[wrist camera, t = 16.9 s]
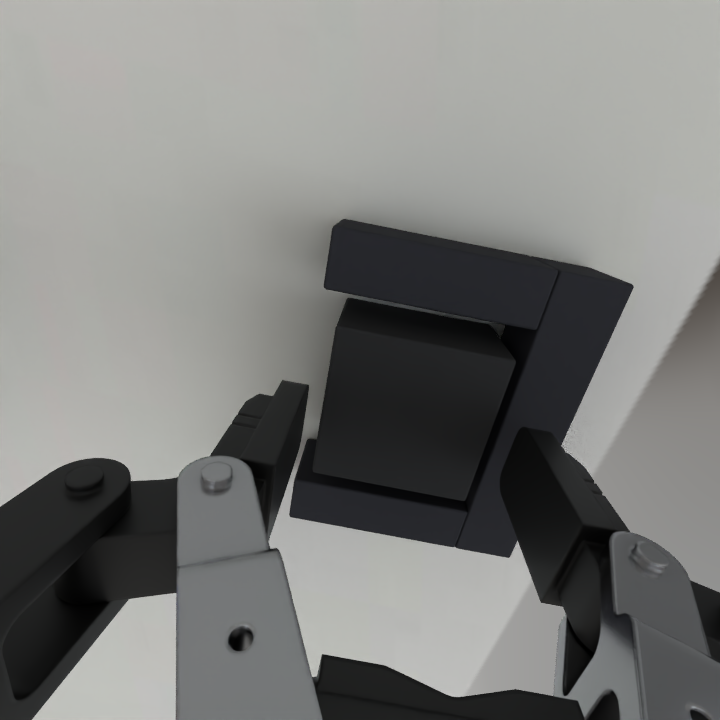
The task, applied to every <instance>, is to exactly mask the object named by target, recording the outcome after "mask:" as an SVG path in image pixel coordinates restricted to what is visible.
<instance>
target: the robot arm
mask: <svg viewBox="0 0 720 720" xmlns="http://www.w3.org/2000/svg"><path fill="white" fill-rule="evenodd" d="M308 391H309V385H306V384H301V383H295V382H290V381H285V380H282V381H281V383H280V385H279V387H278V389H277V390H276V392H275V394H274V396H269V395H264V394H258V395H256V396H255V397H253V398H251V399H249V400H248V401H246V402H245V403H244V405H243V406H242V408H241V409H240V411H239V412H238V415H236V417H235V419H234V420H233V422H232V424H231V425H230V426H229V428H228V429H227V431H226V432H225V434H224V435H223V437H222V438H221V440H220V441H219V443H218V444H217V446H216V447H215V449H214V450H213V452H212V453H211V455H210V456H209V457H204V458H201V459H198V460H196V461H194V462H192V463H190V464H189V465H187V466H186V467H185V468H184V469H183V470H182V471H181V473H180V474H179V477H177V478H172V479H165V480H147V481H131V476H130V472H129V470H128V468H127V467H126V466H125V465H124V464H122V463H120V462H118V461H115V460H111V459H105V458H92V459H84V460H79V461H75V462H72V463H69V464H66V465H64V466H62V467H60V468H57V469H56V470H54V471H52V472H51V473H49V474H48V475H46V476H45V477H43V478H42V479H41V480H39V481H38V482H36V483H35V484H33V485H32V486H30V487H29V488H27V489H26V490H24V491H23V492H21V493H20V494H19V495H17V496H16V497H14V498H13V499H11V500H10V501H8V502H7V503H5V504H4V505H2V506H1V507H0V720H32V719H33V717H34V716H35V715H36V714H37V712H38V711H39V710H40V709H41V707H42V706H43V705H44V704H45V702H46V701H47V700H48V699H49V698H50V696H51V695H52V694H53V693H54V691H55V690H56V689H57V688H58V686H59V685H60V684H61V683H62V681H63V680H64V679H65V678H66V676H67V675H68V674H69V673H70V671H71V670H72V669H73V668H74V667H75V665H76V664H77V663H78V662H79V660H80V659H81V658H82V657H83V655H84V654H85V653H86V652H87V650H88V649H89V648H90V647H91V645H92V644H93V643H94V642H95V640H96V639H97V638H98V637H99V635H100V634H101V633H102V632H103V631H104V629H105V628H106V627H107V626H108V624H109V623H110V622H111V621H112V619H113V618H114V617H115V616H116V614H117V613H118V612H119V611H120V609H121V608H122V607H123V606H124V604H125V603H126V602H127V601H128V599H131V598H139V597H146V596H154V595H162V594H169V593H177V597H176V720H720V593H719V592H717V591H714V590H712V589H710V588H707V587H705V586H702V585H700V584H698V583H695V582H693V581H690V579H689V577H688V574H687V572H686V571H685V569H684V568H683V566H682V565H681V564H680V563H679V562H678V560H676V558H675V557H673V556H672V555H671V554H670V553H669V552H668V551H666V550H665V549H664V548H662V547H661V546H659V545H658V544H656V543H655V542H653V541H651V540H649V539H647V538H645V537H643V536H640V535H638V534H634V533H631V532H630V531H629V530H628V528H627V527H626V525H625V524H624V523H623V521H622V520H621V518H620V517H619V515H618V514H617V513H616V512H615V510H614V509H613V507H612V506H611V504H610V503H609V501H608V500H607V499H606V497H605V496H603V495H602V491H601V490H600V489H599V487H598V486H597V484H594V480H593V479H592V477H591V476H590V474H589V473H588V472H587V470H586V469H585V467H584V466H583V465H581V464H580V463H579V462H578V461H577V460H575V459H574V458H573V457H572V456H571V455H570V454H568V453H566V452H565V451H564V449H563V448H562V446H561V445H560V443H559V442H558V440H557V439H556V438H555V436H554V435H553V433H551V432H548V431H543V430H537V429H532V428H527V427H522V428H520V429H519V431H518V432H517V434H516V437H515V439H514V442H513V444H512V447H511V449H510V452H509V454H508V457H507V459H506V462H505V464H504V467H503V469H502V472H501V476H500V493H501V496H502V499H503V502H504V504H505V507H506V510H507V512H508V515H509V518H510V521H511V523H512V526H513V529H514V531H515V534H516V537H517V539H518V542H519V545H520V548H521V550H522V553H523V556H524V558H525V561H526V564H527V566H528V569H529V572H530V574H531V577H532V580H533V583H534V585H535V588H536V590H537V593H538V596H539V599H540V601H541V603H546V604H552V605H557V606H562V607H564V610H565V612H566V614H565V616H564V617H563V619H562V621H561V623H560V625H559V629H558V642H557V654H556V667H555V679H554V692H553V696H549V695H544V694H539V693H533V692H527V691H522V690H516V689H515V690H507V691H501V692H494V693H486V694H480V695H472V696H465V697H451V696H448V695H446V694H444V693H442V692H440V691H437V690H435V689H433V688H431V687H429V686H427V685H425V684H423V683H421V682H419V681H416V680H414V679H412V678H410V677H408V676H406V675H404V674H402V673H400V672H398V671H396V670H393V669H391V668H389V667H387V666H384V665H379V664H373V663H368V662H362V661H357V660H351V659H346V658H340V657H335V656H329V655H324V654H322V657H321V662H320V666H319V670H318V674H317V677H312V675H311V671H310V667H309V663H308V659H307V655H306V651H305V647H304V643H303V639H302V635H301V631H300V627H299V623H298V619H297V615H296V611H295V607H294V603H293V599H292V595H291V591H290V587H289V583H288V579H287V575H286V571H285V567H284V563H283V560H282V556H281V554H280V552H279V550H278V549H277V548H274V549H270V546H269V543H268V541H269V538H270V535H271V532H272V529H273V526H274V523H275V520H276V517H277V514H278V511H279V508H280V505H281V502H282V499H283V496H284V493H285V490H286V487H287V484H288V481H289V478H290V475H291V472H292V469H293V466H294V463H295V460H296V457H297V454H298V450H299V446H300V442H301V437H302V431H303V425H304V418H305V411H306V405H307V398H308Z"/></svg>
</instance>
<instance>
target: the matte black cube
mask: <svg viewBox="0 0 720 720" xmlns="http://www.w3.org/2000/svg"><path fill="white" fill-rule="evenodd" d="M515 364H516V360H515V359H514V357H513V356H512V355H511V353H510V352H509V351H508V349H507V348H506V346H505V345H504V344H503V342H502V341H501V340H500V338H499V337H498V336H497V334H496V333H495V331H494V330H493V329H492V327H491V326H490V325H487V324H482V323H477V322H472V321H467V320H461V319H456V318H451V317H446V316H441V315H436V314H430V313H425V312H420V311H415V310H410V309H405V308H399V307H394V306H389V305H384V304H379V303H374V302H368V301H363V300H358V299H353V298H348V299H347V300H346V303H345V305H344V308H343V310H342V313H341V315H340V318H339V321H338V323H337V326H336V329H335V335H334V341H333V347H332V353H331V359H330V365H329V371H328V377H327V383H326V389H325V395H324V401H323V407H322V413H321V419H320V425H319V431H318V437H317V443H316V449H315V455H314V461H313V467H312V470H313V472H315V473H320V474H325V475H330V476H336V477H341V478H346V479H351V480H356V481H362V482H367V483H372V484H377V485H382V486H388V487H393V488H398V489H403V490H408V491H414V492H419V493H424V494H429V495H434V496H440V497H445V498H450V499H455V500H460V501H465V500H466V498H467V495H468V492H469V490H470V487H471V484H472V481H473V479H474V476H475V473H476V470H477V468H478V465H479V462H480V460H481V457H482V454H483V451H484V449H485V446H486V443H487V440H488V438H489V435H490V432H491V430H492V427H493V424H494V421H495V419H496V416H497V413H498V411H499V408H500V405H501V402H502V400H503V397H504V394H505V391H506V389H507V386H508V383H509V381H510V378H511V375H512V372H513V370H514V367H515Z"/></svg>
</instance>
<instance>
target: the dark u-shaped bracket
mask: <svg viewBox="0 0 720 720" xmlns="http://www.w3.org/2000/svg"><path fill="white" fill-rule="evenodd" d="M633 287H634V286H633V285H632V284H630V283H627V282H625V281H622V280H620V279H617V278H614V277H612V276H609V275H607V274H604V273H602V272H599V271H597V270H594V269H592V268H588V267H583V266H578V265H573V264H568V263H563V262H558V261H553V260H548V259H543V258H538V257H533V256H532V257H530V256H528V255H523V254H518V253H513V252H508V251H503V250H498V249H492V248H487V247H482V246H477V245H472V244H467V243H462V242H457V241H452V240H447V239H442V238H437V237H432V236H427V235H422V234H417V233H412V232H407V231H402V230H397V229H392V228H387V227H382V226H377V225H372V224H367V223H362V222H357V221H352V220H347V219H343V220H341V221H340V222H339V223H337V224H336V225H335V226H334V227H333V228H332V234H331V241H330V248H329V254H328V261H327V267H326V274H325V281H324V288H325V289H328V290H333V291H338V292H343V293H348V294H353V295H358V296H363V297H368V298H373V299H379V300H384V301H389V302H394V303H399V304H404V305H409V306H414V307H419V308H424V309H430V310H435V311H440V312H445V313H450V314H455V315H460V316H465V317H470V318H475V319H480V320H486V321H491V322H496V323H501V324H506V327H505V330H504V333H503V336H502V339H501V341H502V342H503V344H504V345H505V346H506V348H507V349H508V351H509V352H510V353H511V355H512V356H513V357H514V359H515V360H516V364H515V367H514V370H513V372H512V375H511V378H510V381H509V383H508V386H507V389H506V391H505V394H504V397H503V400H502V402H501V405H500V408H499V411H498V413H497V416H496V419H495V421H494V424H493V427H492V430H491V432H490V435H489V438H488V440H487V443H486V446H485V449H484V451H483V454H482V457H481V460H480V462H479V465H478V468H477V470H476V473H475V476H474V479H473V481H472V484H471V487H470V490H469V492H468V495H467V498H466V500H465V501H460V500H455V499H450V498H445V497H440V496H434V495H429V494H424V493H419V492H414V491H408V490H403V489H398V488H393V487H388V486H382V485H377V484H372V483H367V482H362V481H356V480H351V479H346V478H341V477H336V476H330V475H325V474H320V473H315V472H313V470H312V467H313V461H314V455H315V449H316V443H317V440H312V439H308V440H307V442H306V445H305V448H304V452H303V455H302V458H301V461H300V464H299V467H298V471H297V474H296V477H295V480H294V487H293V494H292V500H291V507H290V513H289V515H290V517H293V518H299V519H304V520H309V521H315V522H320V523H326V524H331V525H336V526H342V527H347V528H352V529H358V530H363V531H368V532H374V533H379V534H385V535H390V536H395V537H401V538H406V539H411V540H417V541H422V542H427V543H433V544H438V545H444V546H449V547H456V548H459V549H464V550H470V551H475V552H480V553H486V554H491V555H496V556H502V557H507V558H509V557H510V556H511V553H512V551H513V549H514V547H515V545H516V542H517V540H518V539H517V537H516V534H515V531H514V529H513V526H512V523H511V521H510V518H509V515H508V512H507V510H506V507H505V504H504V502H503V499H502V496H501V493H500V476H501V472H502V469H503V467H504V464H505V462H506V459H507V457H508V454H509V452H510V449H511V447H512V444H513V442H514V439H515V437H516V434H517V432H518V431H519V429H520V428H522V427H527V428H532V429H537V430H543V431H548V432H551V433H553V435H554V436H555V438H556V439H557V440H558V442H559V443H560V445H561V444H562V442H563V440H564V438H565V436H566V434H567V431H568V429H569V427H570V425H571V423H572V420H573V418H574V416H575V414H576V412H577V410H578V407H579V405H580V403H581V401H582V399H583V396H584V394H585V392H586V390H587V388H588V386H589V383H590V381H591V379H592V377H593V375H594V373H595V370H596V368H597V366H598V364H599V362H600V359H601V357H602V355H603V353H604V351H605V349H606V346H607V344H608V342H609V340H610V338H611V335H612V333H613V331H614V329H615V327H616V325H617V322H618V320H619V318H620V316H621V314H622V311H623V309H624V307H625V305H626V303H627V301H628V298H629V296H630V294H631V292H632V290H633Z"/></svg>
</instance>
